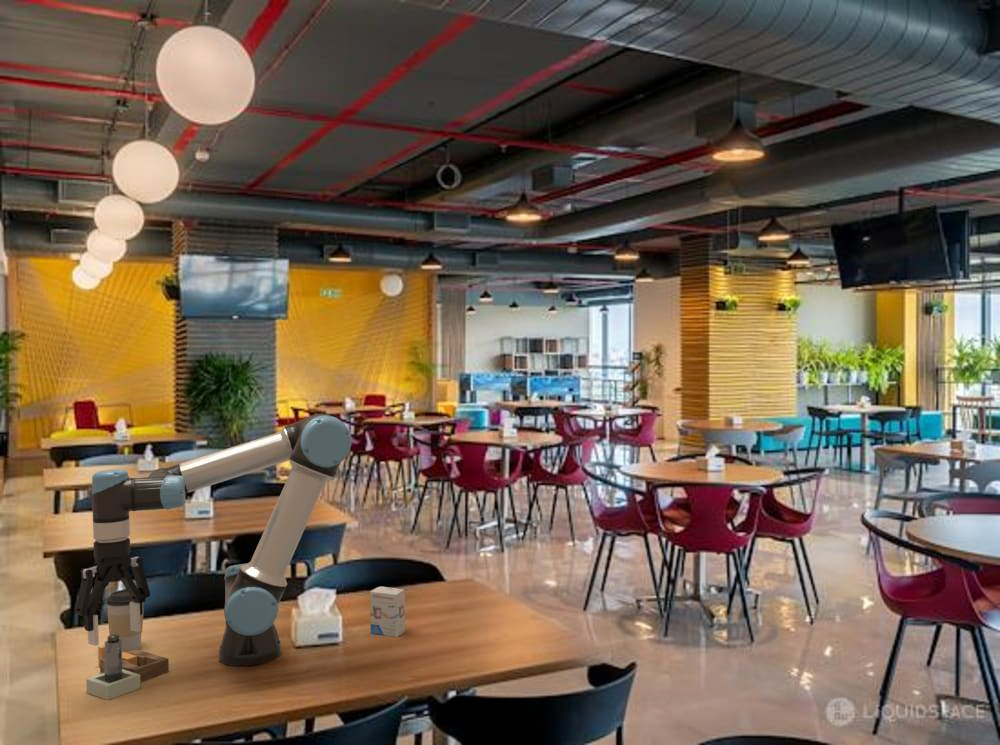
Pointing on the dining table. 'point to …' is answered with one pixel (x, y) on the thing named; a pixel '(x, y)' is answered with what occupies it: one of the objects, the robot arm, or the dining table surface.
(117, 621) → the coffee cup
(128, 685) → the square frame
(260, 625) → the robot arm
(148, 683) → the dining table surface
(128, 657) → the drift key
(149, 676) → the socket block
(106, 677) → the dark grey cylinder
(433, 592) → the dining table surface
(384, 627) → the ink box
